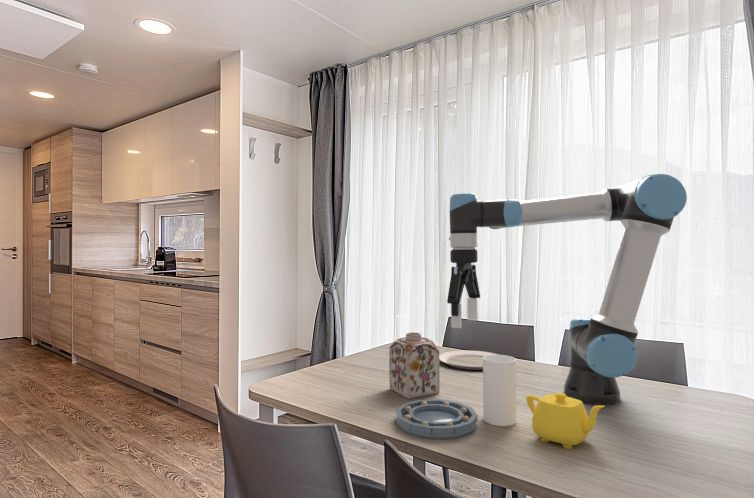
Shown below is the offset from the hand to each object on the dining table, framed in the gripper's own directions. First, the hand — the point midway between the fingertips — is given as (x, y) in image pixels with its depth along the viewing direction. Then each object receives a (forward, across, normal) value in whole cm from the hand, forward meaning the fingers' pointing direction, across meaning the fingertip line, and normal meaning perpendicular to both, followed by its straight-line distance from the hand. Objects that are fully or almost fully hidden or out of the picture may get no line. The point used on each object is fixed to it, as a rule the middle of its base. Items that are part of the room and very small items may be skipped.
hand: (464, 324), depth 131 cm
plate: (+23, -46, -14) cm, 54 cm away
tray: (+23, +16, -2) cm, 28 cm away
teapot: (+23, +12, +27) cm, 38 cm away
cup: (+23, +7, +11) cm, 27 cm away
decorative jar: (+23, -4, -18) cm, 30 cm away
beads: (+22, +16, -2) cm, 27 cm away
